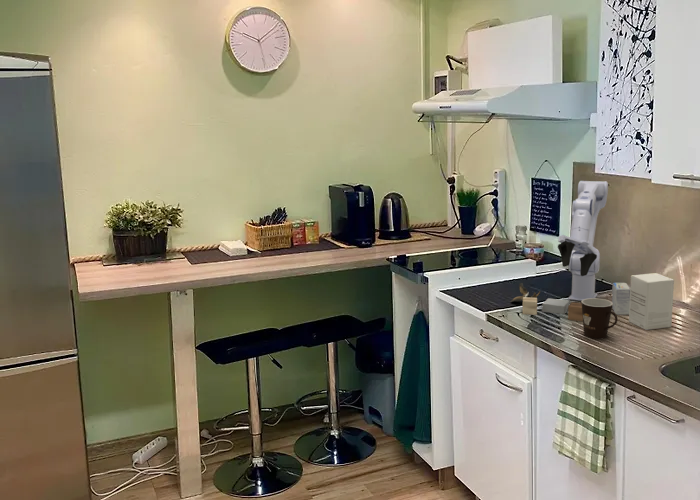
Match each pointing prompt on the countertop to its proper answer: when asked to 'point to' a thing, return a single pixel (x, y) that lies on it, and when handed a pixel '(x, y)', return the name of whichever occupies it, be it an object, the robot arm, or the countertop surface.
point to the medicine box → (621, 298)
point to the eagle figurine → (524, 293)
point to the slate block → (555, 306)
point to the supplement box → (651, 301)
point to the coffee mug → (597, 317)
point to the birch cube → (529, 306)
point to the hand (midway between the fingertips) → (574, 270)
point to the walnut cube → (575, 311)
